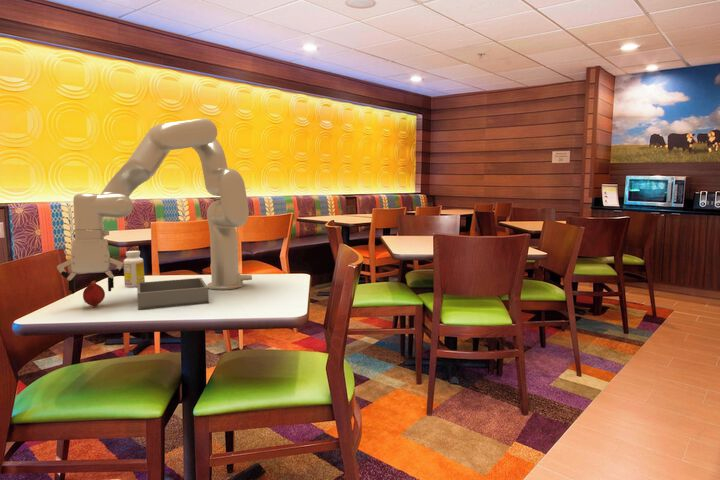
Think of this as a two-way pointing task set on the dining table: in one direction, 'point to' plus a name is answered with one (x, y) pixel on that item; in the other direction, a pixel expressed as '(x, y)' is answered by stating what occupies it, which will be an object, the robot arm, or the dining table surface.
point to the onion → (93, 294)
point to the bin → (172, 293)
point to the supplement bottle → (133, 269)
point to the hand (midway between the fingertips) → (91, 291)
